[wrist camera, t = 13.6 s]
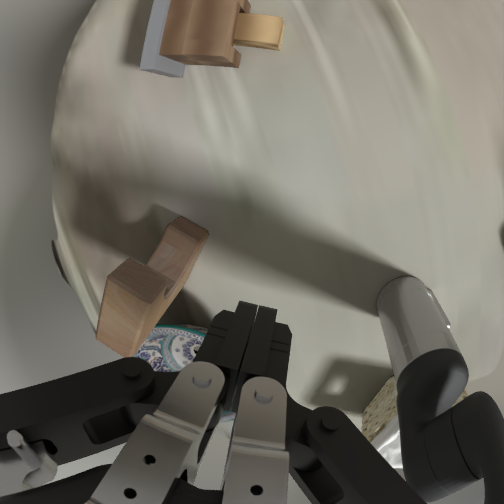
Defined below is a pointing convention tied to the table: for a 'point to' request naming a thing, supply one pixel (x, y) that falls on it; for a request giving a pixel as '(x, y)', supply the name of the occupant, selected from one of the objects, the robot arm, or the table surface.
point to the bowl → (175, 350)
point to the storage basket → (387, 423)
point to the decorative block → (147, 288)
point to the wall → (158, 44)
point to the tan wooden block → (259, 31)
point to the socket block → (202, 32)
